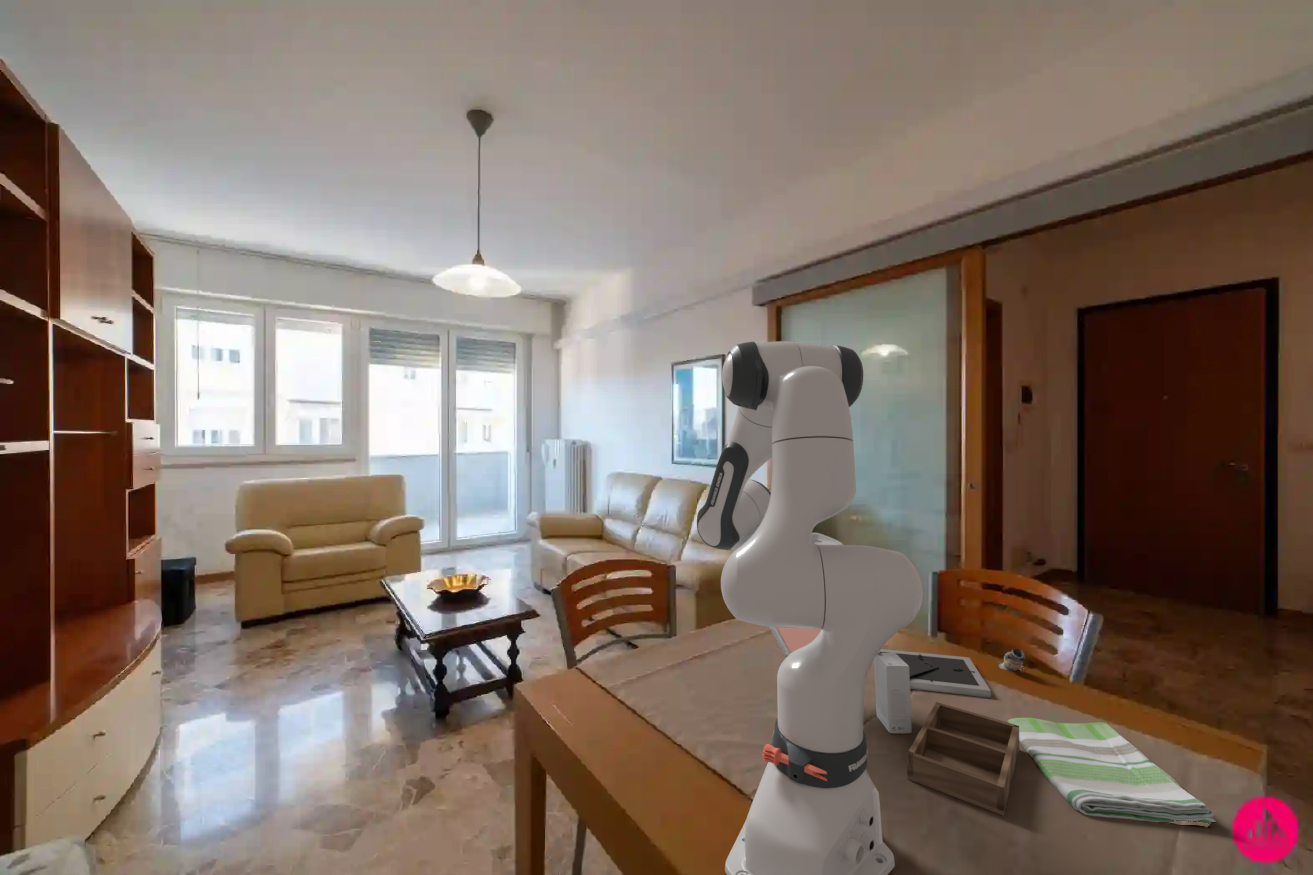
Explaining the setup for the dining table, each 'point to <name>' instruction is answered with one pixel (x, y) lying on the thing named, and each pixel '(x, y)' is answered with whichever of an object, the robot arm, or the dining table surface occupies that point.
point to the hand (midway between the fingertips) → (839, 575)
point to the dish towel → (1106, 773)
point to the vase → (1013, 660)
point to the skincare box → (893, 692)
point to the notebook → (794, 638)
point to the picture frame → (943, 673)
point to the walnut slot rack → (965, 756)
